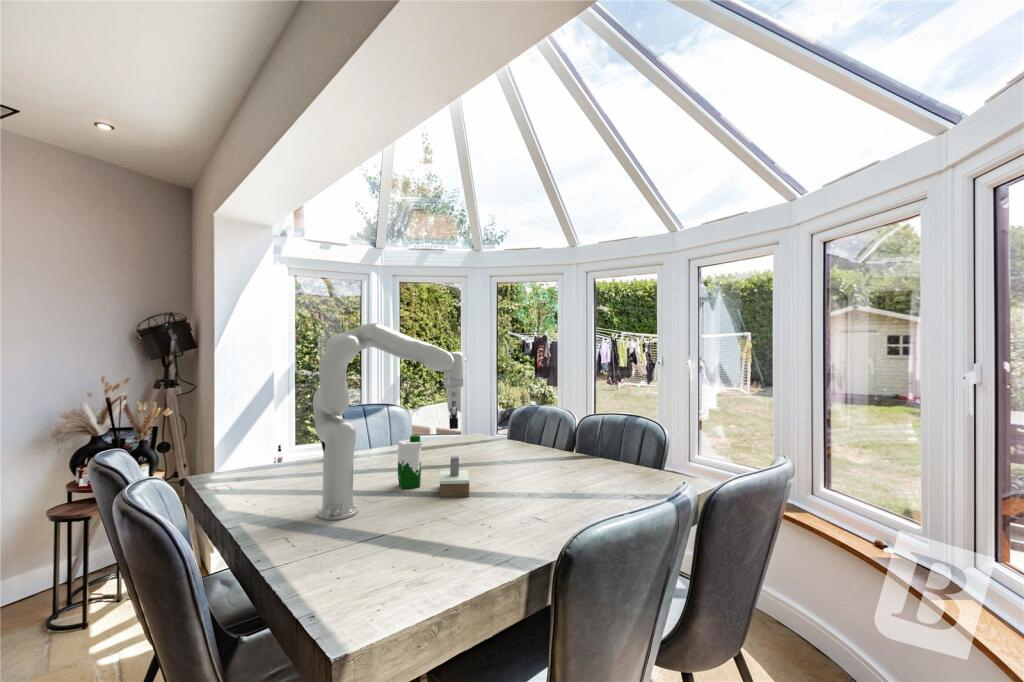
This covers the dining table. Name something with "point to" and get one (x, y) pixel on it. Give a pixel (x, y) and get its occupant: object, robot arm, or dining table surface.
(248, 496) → the dining table surface
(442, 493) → the box
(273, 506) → the dining table surface
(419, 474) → the milk carton
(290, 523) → the dining table surface
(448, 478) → the lid
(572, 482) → the dining table surface
